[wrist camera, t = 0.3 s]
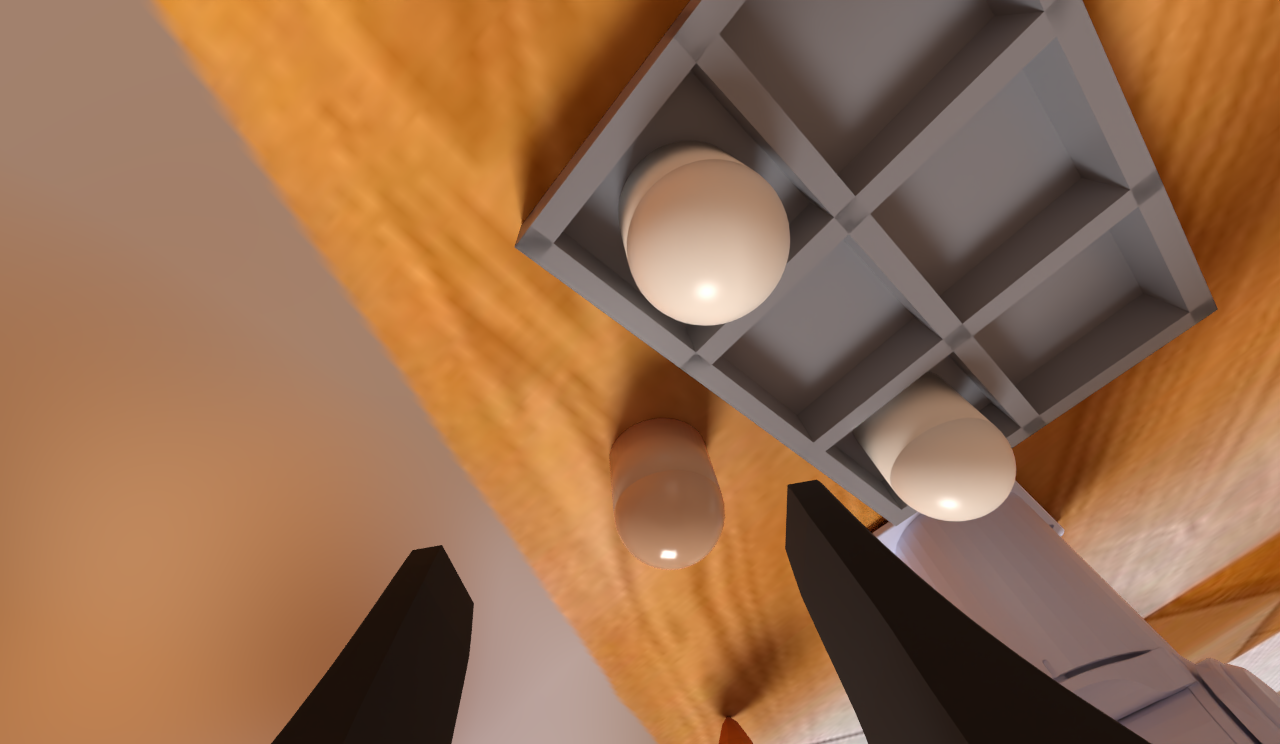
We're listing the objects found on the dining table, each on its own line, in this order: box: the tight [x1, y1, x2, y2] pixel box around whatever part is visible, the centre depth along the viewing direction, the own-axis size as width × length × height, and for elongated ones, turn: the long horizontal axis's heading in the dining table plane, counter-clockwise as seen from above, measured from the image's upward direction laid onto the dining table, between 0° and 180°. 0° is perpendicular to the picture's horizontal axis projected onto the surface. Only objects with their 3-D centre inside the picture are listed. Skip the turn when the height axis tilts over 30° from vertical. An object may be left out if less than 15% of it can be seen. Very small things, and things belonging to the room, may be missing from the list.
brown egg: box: [609, 418, 725, 570], centre depth 20 cm, size 4×4×5 cm
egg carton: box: [515, 0, 1217, 526], centre depth 16 cm, size 21×14×6 cm
